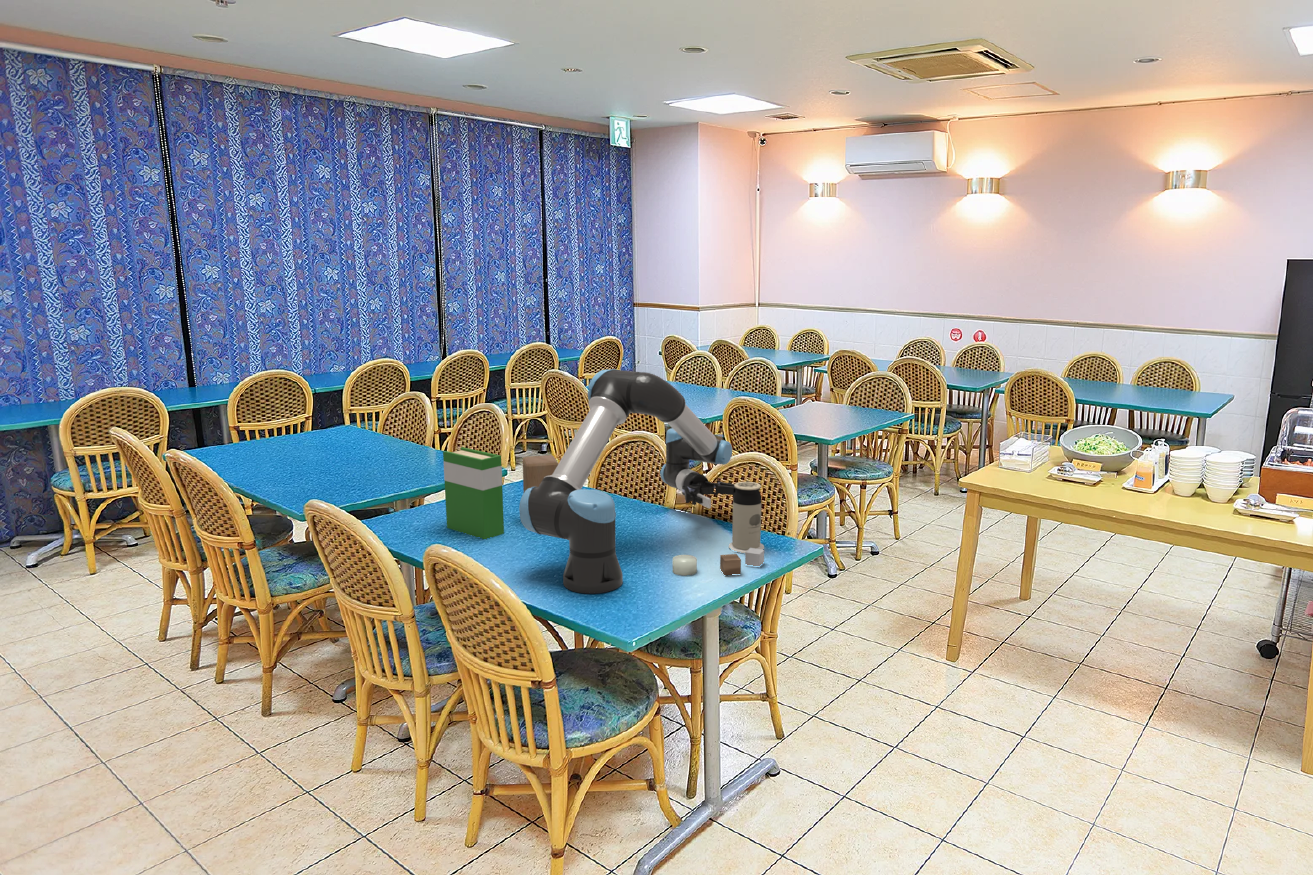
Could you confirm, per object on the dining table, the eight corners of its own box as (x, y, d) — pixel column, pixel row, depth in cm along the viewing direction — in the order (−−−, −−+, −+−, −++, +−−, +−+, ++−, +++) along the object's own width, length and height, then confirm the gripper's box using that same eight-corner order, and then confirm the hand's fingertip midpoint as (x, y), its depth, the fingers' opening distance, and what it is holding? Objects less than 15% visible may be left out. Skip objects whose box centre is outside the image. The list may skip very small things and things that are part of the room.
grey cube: (759, 568, 230) (759, 554, 229) (745, 566, 232) (745, 552, 231) (763, 563, 234) (764, 549, 233) (749, 561, 235) (750, 547, 235)
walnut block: (740, 575, 225) (741, 559, 224) (724, 576, 225) (724, 560, 224) (736, 569, 230) (736, 553, 229) (720, 570, 229) (720, 554, 228)
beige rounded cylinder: (695, 576, 224) (695, 563, 224) (670, 575, 225) (670, 562, 225) (698, 568, 231) (698, 555, 230) (674, 566, 232) (674, 554, 231)
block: (527, 526, 265) (526, 463, 260) (524, 517, 274) (522, 456, 270) (560, 524, 267) (558, 461, 263) (555, 514, 277) (553, 454, 272)
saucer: (763, 554, 240) (763, 552, 240) (727, 552, 242) (727, 550, 242) (764, 543, 250) (764, 541, 250) (730, 541, 251) (730, 539, 251)
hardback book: (446, 527, 263) (442, 451, 258) (466, 522, 269) (462, 447, 264) (484, 539, 253) (481, 460, 248) (504, 533, 258) (501, 455, 253)
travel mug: (727, 543, 248) (728, 482, 244) (752, 540, 251) (753, 480, 247) (739, 551, 241) (741, 489, 237) (765, 548, 243) (766, 487, 240)
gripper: (726, 489, 276) (764, 507, 258) (657, 500, 264) (692, 519, 246) (726, 467, 274) (765, 482, 256) (657, 476, 263) (693, 493, 245)
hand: (729, 500), depth 251 cm, fingers open, 13 cm apart
